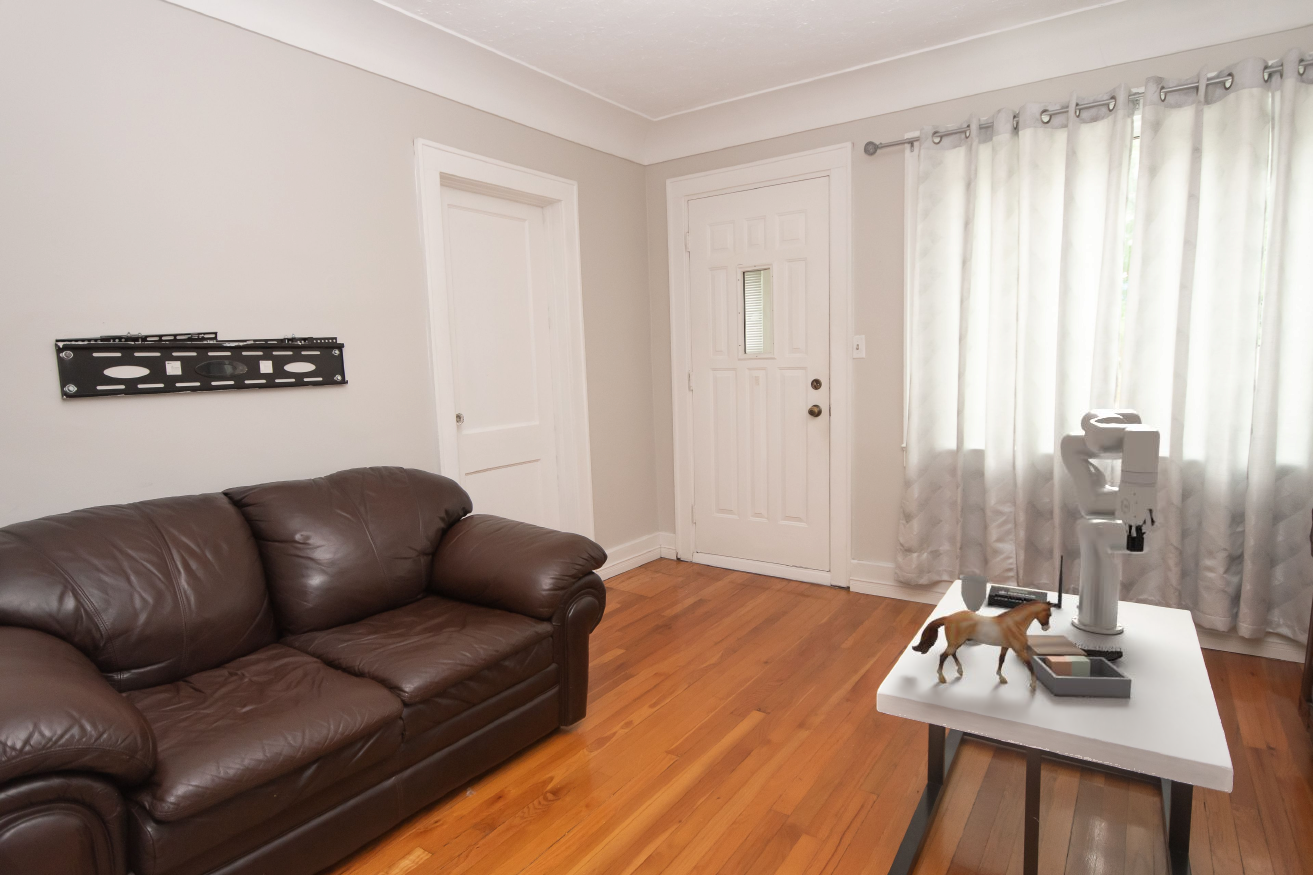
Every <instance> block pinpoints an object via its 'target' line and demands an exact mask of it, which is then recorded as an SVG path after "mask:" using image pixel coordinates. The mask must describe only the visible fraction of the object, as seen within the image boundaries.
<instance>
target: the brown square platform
mask: <svg viewBox="0 0 1313 875" xmlns="http://www.w3.org/2000/svg"><path fill="white" fill-rule="evenodd" d="M1027 638H1028V644H1027V646H1026V648H1025V650H1026V652H1027V654H1028V657H1029V659H1030V662H1031V663H1032V656H1084V657H1087V654H1086V653H1085V652H1084V651H1082V650H1081V649H1080V648H1081V647H1080V646H1078V645H1077V644H1076V643H1073V642H1072V641H1071V640H1070V639H1069V638H1067V637H1066V636H1065V635H1056V634H1055V635H1053V634H1052V635H1051V634H1027Z"/></svg>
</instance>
